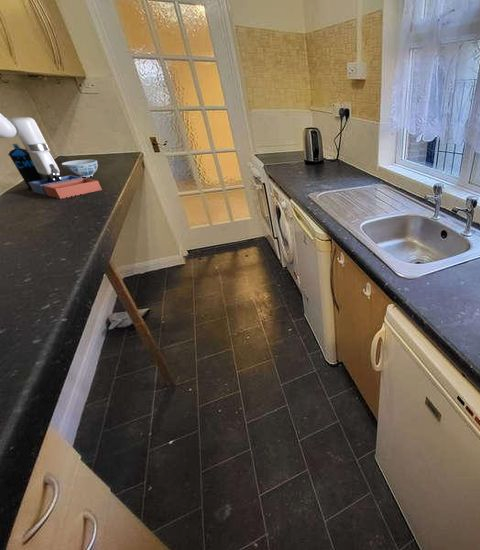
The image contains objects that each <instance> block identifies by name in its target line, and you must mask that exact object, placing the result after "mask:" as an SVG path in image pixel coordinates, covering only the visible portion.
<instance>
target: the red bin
mask: <svg viewBox="0 0 480 550" xmlns="http://www.w3.org/2000/svg"><path fill="white" fill-rule="evenodd" d="M43 187H44V189H45V191H46V193H47V194H48V195H47V196H48V197H51V196H52V198H55V197H56V199H59V198H60V200H62V198H63V199H66V197H67V198H71V196H72V197H75V195H76V196H80V194H81V195H85V194H89V193H94V192H98V191H102V190H103V189H102V187H101V185H100V183H99V180H97V179H91V178H88V177H86V178H83V179H78V180H72V181H67V182H61V183H55V184H50V185H44V186H43Z"/></svg>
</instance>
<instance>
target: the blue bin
mask: <svg viewBox="0 0 480 550" xmlns="http://www.w3.org/2000/svg"><path fill="white" fill-rule="evenodd" d="M60 178H61V180H62V181H58V182H53V183H48V181H47V179H45V180H39V181H33V182H29V184H30V186H31V188H32V189H31V190H32V192H34V193H37V194H40V195H43V196H48V194H47V193H46V191H45V189H44V187H43V186H44V185H50V184H55V183H61V182H67V181H72V180H78V179H83V178H82V177H78V176H77V175H74V174H69V175H63V176H60Z"/></svg>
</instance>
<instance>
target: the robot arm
mask: <svg viewBox="0 0 480 550" xmlns="http://www.w3.org/2000/svg"><path fill="white" fill-rule="evenodd" d="M15 136H18V137H19V139H20V141H21V143H22V145H23V147H24V149H26V150H27V152H29V155H30V157H31V159H32V162H33V164H34V166H35V168H36V170H37V172H38V173H41V174H44V175H45V178H46V179H47V181H48V183H53V182H58V181H62V180H61V178H60V177H61V174H60V172H61V171H60V168H59V166H58V164H57V163H56V161H55V160H54V158H53V156H52V154H51V152H50V151H51V149H50V148H49V146H48V144H47V141H46V140H45V138H44V136H43V133H42V132H41V129H40V128H39V126H38V123H37V122H36V120H35V119H34V118H32V117H27V116H15V117H5V116H4V115H3V114H2V113H0V138H2V139H12V138H14V137H15Z"/></svg>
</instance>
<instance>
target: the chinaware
mask: <svg viewBox="0 0 480 550" xmlns="http://www.w3.org/2000/svg"><path fill="white" fill-rule="evenodd" d="M98 165H99V164H98V160H96V159H77V160H69V161H65V162H62V163H61V166H62V167H63V169H64V170H66V171H67V172H68V173H70V174H71V175H73V176H77V177H86V178H91V177H90V176H92V177H94V176H95V175H94V174H96V172H97V170H98V167H99V166H98ZM93 175H94V176H93Z"/></svg>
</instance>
